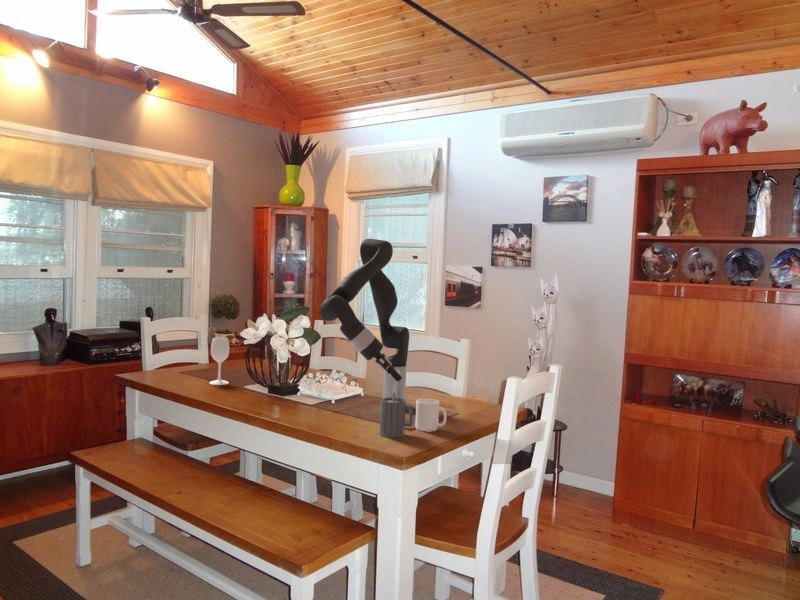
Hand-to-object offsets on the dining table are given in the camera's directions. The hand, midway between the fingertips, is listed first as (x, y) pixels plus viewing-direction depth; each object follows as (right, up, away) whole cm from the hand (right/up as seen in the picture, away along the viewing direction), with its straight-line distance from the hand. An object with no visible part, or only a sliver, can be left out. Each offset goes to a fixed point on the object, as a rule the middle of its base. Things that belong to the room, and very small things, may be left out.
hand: (398, 377), depth 202 cm
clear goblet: (-2, -9, 0) cm, 9 cm away
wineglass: (-83, -12, +70) cm, 109 cm away
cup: (+12, -20, +9) cm, 25 cm away
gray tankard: (-1, -20, +1) cm, 20 cm away
